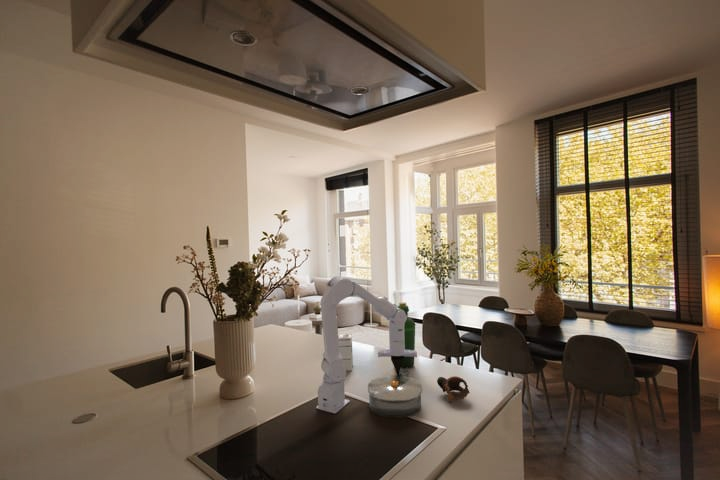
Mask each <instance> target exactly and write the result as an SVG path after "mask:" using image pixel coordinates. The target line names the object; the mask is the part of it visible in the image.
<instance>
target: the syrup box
mask: <svg viewBox="0 0 720 480" xmlns="http://www.w3.org/2000/svg"><path fill="white" fill-rule="evenodd" d="M352 337H353V336H352V333H350V334H349V333H343V334H338V338H339V350H340V354H341V356H342V359H343V365H344V366H345V368H346V372H348V371H353V367H354V359H353V358H354V357H353V338H352Z"/></svg>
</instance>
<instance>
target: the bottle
mask: <svg viewBox="0 0 720 480" xmlns="http://www.w3.org/2000/svg"><path fill="white" fill-rule="evenodd" d="M398 304H399V305H397V308H400V309H402V310H404V311H405V313H406V316H407V320H406V322H405V327H404V336H405V350H416V349H415V348H416V346H415V345H416V322H415V321H414V320H413V319H412V318H411V317H409V315H408V314H409V312H410V308H409V305H408V304H407V302H398ZM414 366H415V357H404V362H403V364H402V366H401V369H405V370H407V369H411V368H413V367H414Z"/></svg>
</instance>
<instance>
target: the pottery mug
mask: <svg viewBox="0 0 720 480" xmlns="http://www.w3.org/2000/svg"><path fill="white" fill-rule="evenodd" d="M436 383H437V385H438V386H439V388H440V389H441V390H442V393H446V394H447V397H446V399H447V401H448V402H449V403H453V402H455V401H457V402H458V401H460V400H464V399H465V398H466V397H467V396H468V394H470V390H469V385H468V383H467V381H466V380H465V379H464V378H461V376H460V377H459V376H455V375H454V376H450V377H449V378H445V377H444V376H439V377H438V378H437V380H436ZM461 383H463V385H464V387H462V385H460V384H461Z"/></svg>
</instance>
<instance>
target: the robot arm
mask: <svg viewBox="0 0 720 480" xmlns="http://www.w3.org/2000/svg"><path fill="white" fill-rule="evenodd" d="M325 285H326V286H325V289H324V292H323V294H322V296H321V299H320V312H321V313H320V314H321V324H322V335H323V346H324V352H323V353H322V360H321V365H320V366H321V369H322V372H323V373H324V374H323V379H322V380H323V381H322V383H321V385H320V386H319V387H318V389H317V406H316V407H315V409H317V410H321V411H324V412H328V413H332V414H336V413H338V412H339V411H340V410H342V409H343V408H344V407H346V405H347V404H349V403H350V402H351V400H349V399H346V398H345V397H346V395H345V377H346V376H347V371H346V368H345V366H344V365H343V359H342V356H341V354H340V350H339V338H338V337H339V329H338V328H339V327H338V318H337V317H338V316H337V306H338V305H339V303H340V302H341V301H343V300H345V299H347V298H349V297H350V296H353V297H355V296H357V297H358V298H360V299H363V301H365V302H367V303H368V304H371V306H372V310H373V311H375V312H376V313H378V314H379V315H381V316H383V317H384V318H385V319H386V320H387V321H388V333H389V334H388V335H389V337H388V338H389V340H388V341H389V349H383V350H381V349H380V350H377V358H382V357H385V358H386V357H390V361H391V363H392V365H393V367H394V370H395V374H396V375H399V374H400V373H401V369H402V368H401V366H402V364H403V362H404V357H414V358H418V351H417V350H416V349H415V350H405V336H404V327H405V322H406V320H407V316H406V313H405V311H404V310H402V309H400V308H397V306H398V305H397V304H396V303H392V302H390V301H389V299H388V297H386V296H375V295H374V294H373V293H372V292H370V291H369V290H367V289H366V288H364V287H363V286H362V285H360V284H358V283H357V282H354V281H351V279H349V278H344V277H341V276H338V275H337V276H333V277H332V278H331V279H330V280H329V281H328V282H326V284H325Z"/></svg>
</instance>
